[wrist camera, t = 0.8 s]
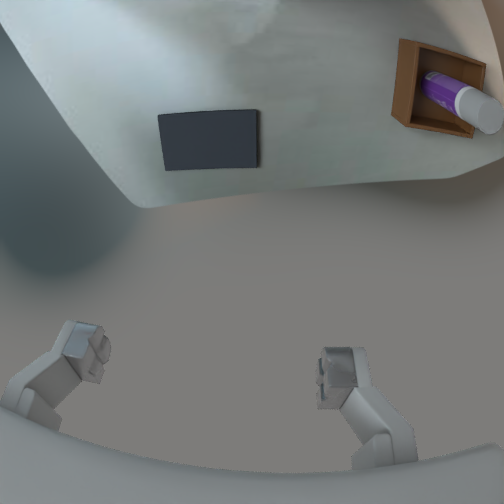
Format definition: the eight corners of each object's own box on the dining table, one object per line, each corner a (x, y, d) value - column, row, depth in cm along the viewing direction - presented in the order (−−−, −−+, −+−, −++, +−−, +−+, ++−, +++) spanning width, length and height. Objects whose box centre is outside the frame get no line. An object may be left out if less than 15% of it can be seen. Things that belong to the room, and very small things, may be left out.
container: (416, 94, 38) (472, 130, 27) (422, 66, 35) (482, 92, 23) (441, 102, 38) (498, 140, 27) (447, 75, 35) (509, 104, 24)
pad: (158, 114, 42) (157, 116, 41) (256, 109, 41) (256, 110, 41) (166, 169, 47) (165, 170, 47) (256, 166, 47) (256, 167, 47)
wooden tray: (399, 38, 33) (416, 41, 29) (466, 57, 33) (486, 63, 29) (390, 115, 41) (405, 126, 37) (455, 126, 41) (472, 138, 37)
